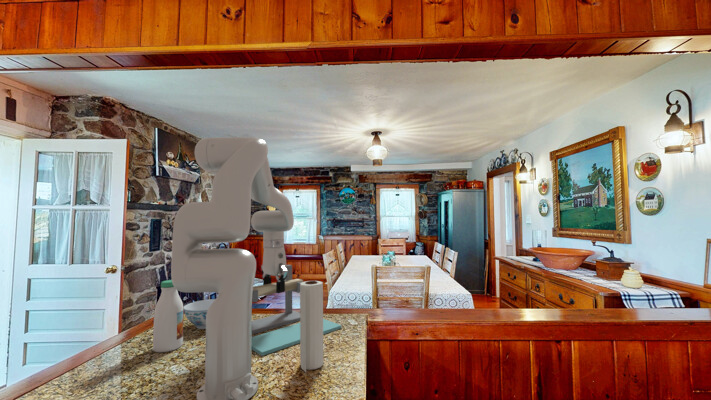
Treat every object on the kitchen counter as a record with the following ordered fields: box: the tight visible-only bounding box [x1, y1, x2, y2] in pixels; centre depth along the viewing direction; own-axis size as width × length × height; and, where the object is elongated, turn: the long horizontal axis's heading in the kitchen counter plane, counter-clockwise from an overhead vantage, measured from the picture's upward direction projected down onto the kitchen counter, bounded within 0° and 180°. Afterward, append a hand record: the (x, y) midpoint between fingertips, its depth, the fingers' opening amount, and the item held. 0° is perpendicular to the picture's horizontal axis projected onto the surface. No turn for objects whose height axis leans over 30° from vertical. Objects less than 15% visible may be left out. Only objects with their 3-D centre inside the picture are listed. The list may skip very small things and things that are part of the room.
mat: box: [251, 318, 342, 357], centre depth 100 cm, size 13×30×1 cm, turn 135°
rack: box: [252, 264, 302, 336], centre depth 113 cm, size 10×24×20 cm, turn 135°
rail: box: [253, 278, 304, 298], centre depth 113 cm, size 4×24×3 cm, turn 135°
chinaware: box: [183, 298, 216, 330], centre depth 111 cm, size 15×15×8 cm
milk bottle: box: [152, 279, 184, 353], centre depth 93 cm, size 8×8×20 cm
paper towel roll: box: [299, 280, 324, 373], centre depth 80 cm, size 7×6×21 cm
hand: (273, 290), depth 113 cm, fingers open, 9 cm apart
